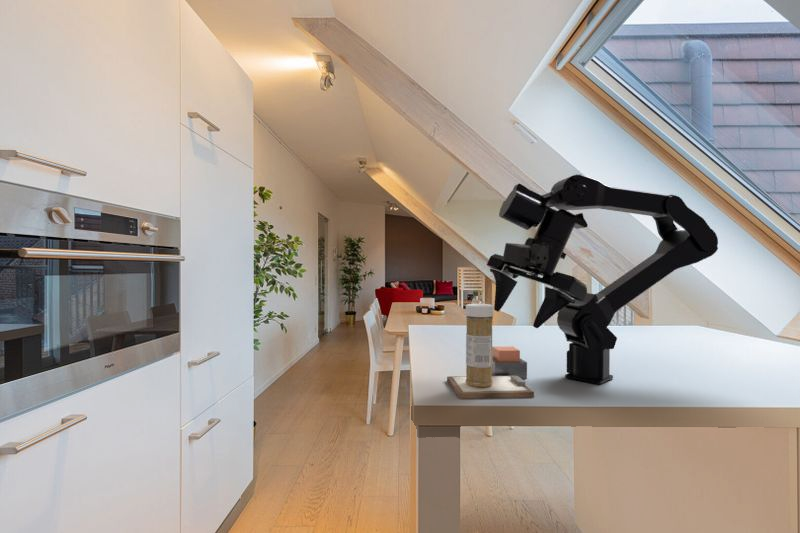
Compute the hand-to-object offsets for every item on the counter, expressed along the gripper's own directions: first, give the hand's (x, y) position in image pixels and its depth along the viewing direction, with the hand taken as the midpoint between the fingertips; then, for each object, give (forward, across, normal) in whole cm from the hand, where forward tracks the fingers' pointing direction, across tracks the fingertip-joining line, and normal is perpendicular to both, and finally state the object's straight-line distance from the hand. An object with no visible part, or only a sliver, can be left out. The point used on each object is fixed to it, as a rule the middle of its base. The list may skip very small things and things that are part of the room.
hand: (514, 318), depth 81 cm
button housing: (+10, -1, +6) cm, 12 cm away
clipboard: (+13, +4, -4) cm, 14 cm away
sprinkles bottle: (+13, +3, -6) cm, 14 cm away
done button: (+8, -1, +5) cm, 10 cm away
